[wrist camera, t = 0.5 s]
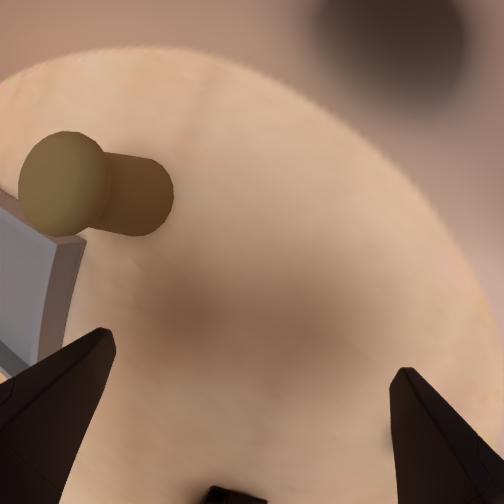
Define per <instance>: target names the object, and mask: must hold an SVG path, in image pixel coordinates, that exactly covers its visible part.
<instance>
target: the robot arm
mask: <svg viewBox="0 0 504 504" xmlns="http://www.w3.org/2000/svg"><path fill="white" fill-rule="evenodd" d="M115 355H116V346H115V342H114V338H113V334H112V332H111V330H109V329H106V328H102V327H99V328H96V329H95V330H93V331H91V332H89V333H88V334H86V335H84V336H82V337H81V338H79V339H77V340H75V341H74V342H72V343H70V344H69V345H67V346H65V347H63V348H62V349H60V350H58V351H56V352H55V353H53V354H51V355H49V356H48V357H46V358H44V359H43V360H41V361H39V362H37V363H36V364H34V365H32V366H31V367H29V368H27V369H25V370H24V371H22V372H20V373H19V374H17V375H16V377H15V376H13V377H12V378H10V379H8V380H6V381H5V382H3V383H1V384H0V504H59V501H60V499H61V496H62V492H63V490H64V487H65V484H66V481H67V479H68V476H69V473H70V471H71V468H72V465H73V463H74V460H75V458H76V455H77V453H78V450H79V448H80V445H81V443H82V440H83V438H84V435H85V433H86V431H87V428H88V426H89V424H90V421H91V419H92V417H93V414H94V412H95V410H96V408H97V405H98V403H99V401H100V399H101V396H102V394H103V391H104V388H105V385H106V382H107V379H108V376H109V373H110V370H111V367H112V364H113V361H114V358H115ZM389 394H390V415H391V434H392V442H393V451H394V460H395V469H396V480H397V493H398V504H504V460H503V459H502V458H501V457H500V456H499V455H498V454H497V453H496V452H495V451H494V450H493V449H492V448H491V447H490V446H489V445H488V444H487V443H486V442H485V441H484V440H483V439H482V438H481V437H480V436H478V434H477V433H476V432H475V431H474V430H473V429H472V428H471V426H470V425H469V424H468V423H467V422H466V421H465V420H464V419H463V418H462V417H461V416H460V415H459V414H458V413H457V412H456V411H455V410H454V409H453V408H452V407H451V406H450V405H449V404H448V403H447V401H446V400H445V399H444V398H443V397H442V396H441V395H440V394H439V393H438V392H437V391H436V390H435V389H434V388H433V387H432V386H431V385H430V384H429V383H428V382H427V381H426V380H425V379H424V378H423V377H422V376H421V375H420V374H419V373H418V372H417V371H416V370H415V369H414V368H412V367H402V368H400V369H399V370H398V372H397V374H396V376H395V377H394V379H393V381H392V382H391V384H390V388H389ZM199 504H268V502H267V501H263V500H259V499H255V498H252V497H248V496H244V495H241V494H237V493H234V492H231V491H227V490H224V489H221V488H218V487H211V488H210V489H209V490H208V492H207V493H206V494H205V496H204V497H203V498H202V500H201V501H200V502H199Z"/></svg>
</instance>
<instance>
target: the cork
mask: <svg viewBox="0 0 504 504" xmlns="http://www.w3.org/2000/svg"><path fill="white" fill-rule="evenodd" d="M18 197H19V202H20V207H21V210H22V212H23V214H24V216H25V218H26V220H27V221H28V222H29V223H30V224H31V225H32V226H33V227H34V228H35V229H36V230H37V231H38V232H41V233H44V234H47V235H50V236H53V237H63V236H71V235H75V234H77V233H79V232H81V231H82V230H84V229H86V228H88V227H90V228H95V229H100V230H105V231H109V232H114V233H119V234H124V235H129V236H144V235H147V234H149V233H151V232H153V231H155V230H156V229H157V228H158V227H159V226H161V225H162V224H163V223H164V222H165V220H166V218H167V216H168V215H169V213H170V211H171V207H172V203H173V199H174V196H173V184H172V182H171V179H170V176H169V174H168V173H167V171H166V170H165V169H164V168H163V166H162V165H160V164H159V163H157V162H155V161H154V160H152V159H146V158H141V157H134V156H128V155H121V154H115V153H108V152H103V150H102V149H101V147H100V146H99V145H98V144H97V143H96V141H94V140H92V139H91V138H89V137H87V136H86V135H84V134H82V133H79V132H69V131H61V132H58V133H55V134H52V135H49V136H47V137H46V138H44V139H43V140H41V141H40V142H39V143H38V144H36V145H35V146H34V147H33V149H32V150H31V151H30V153H29V154H28V156H27V157H26V160H25V162H24V164H23V166H22V169H21V173H20V177H19V182H18Z"/></svg>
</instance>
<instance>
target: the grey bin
mask: <svg viewBox="0 0 504 504" xmlns="http://www.w3.org/2000/svg"><path fill="white" fill-rule="evenodd" d="M85 245H86V241H85V240H84V239H82V238H80V237H78V236H77V235H71V236H63V237H53V236H50V235H47V234H44V233H41V232H38V231H37V230H36V229H35V228H34V227H33V226H32V225H31V224H30V223H29V222H28V221H27V220H26V218H25V216H24V214H23V212H22V210H21V207H20V202H19V200H17V199H15V198H14V197H12V196H11V195H9V194H8V193H6V192H5V191H3V190H2V189H0V372H1V373H2V374H3V375H4V376H5V377H6V378H8V379H10V378H12V377H13V376H15V377H16V375H17V374H19V373H20V372H22V371H24V370H25V369H27V368H29V367H31V366H32V365H34V364H36V363H37V362H39V361H41V360H43V359H44V358H46V357H48V356H49V355H51V354H53V353H55V352H56V351H58V350H60V349H61V347H62V341H63V336H64V330H65V325H66V320H67V315H68V310H69V305H70V301H71V297H72V292H73V288H74V284H75V280H76V276H77V273H78V269H79V265H80V262H81V258H82V255H83V251H84V248H85Z"/></svg>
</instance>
